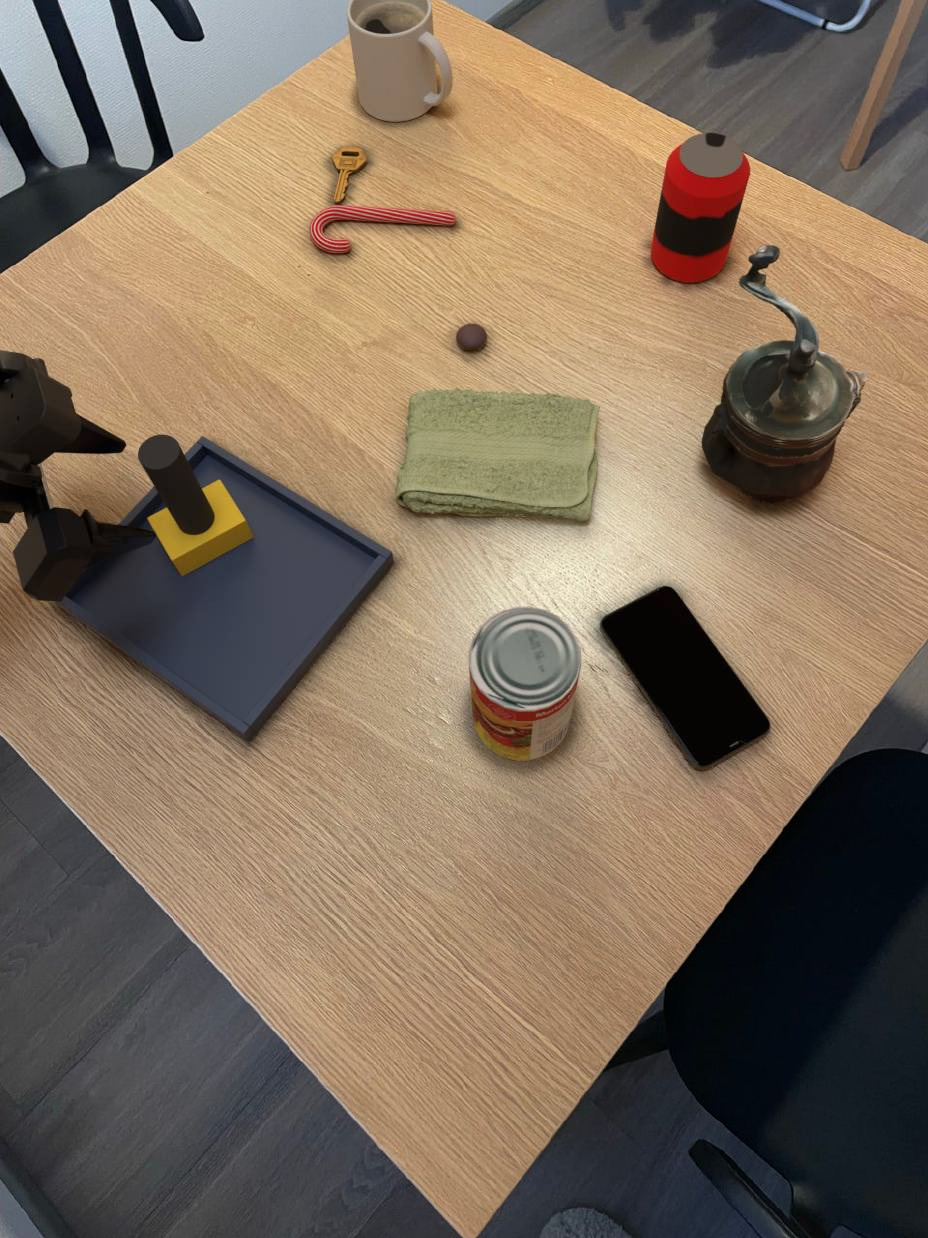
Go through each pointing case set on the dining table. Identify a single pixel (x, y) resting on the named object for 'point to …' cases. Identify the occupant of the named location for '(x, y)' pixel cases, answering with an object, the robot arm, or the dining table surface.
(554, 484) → the washcloth
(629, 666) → the smartphone
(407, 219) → the candy cane
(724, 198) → the soda can
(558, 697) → the canned food
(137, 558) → the tray
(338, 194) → the key
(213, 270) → the dining table surface
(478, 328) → the chocolate truffle
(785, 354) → the coffee grinder
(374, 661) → the dining table surface
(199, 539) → the sponge wand
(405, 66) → the mug
